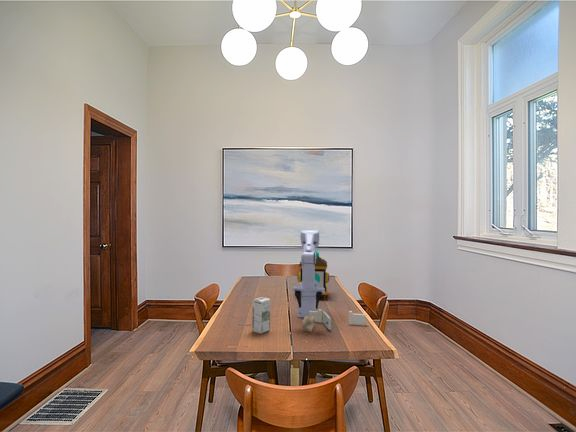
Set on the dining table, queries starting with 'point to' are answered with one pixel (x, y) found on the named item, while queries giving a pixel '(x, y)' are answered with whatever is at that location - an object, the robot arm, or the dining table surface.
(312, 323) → the birch block
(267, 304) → the syrup box
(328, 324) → the door
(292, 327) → the dining table surface
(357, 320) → the wall frame
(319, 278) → the decorative lantern
